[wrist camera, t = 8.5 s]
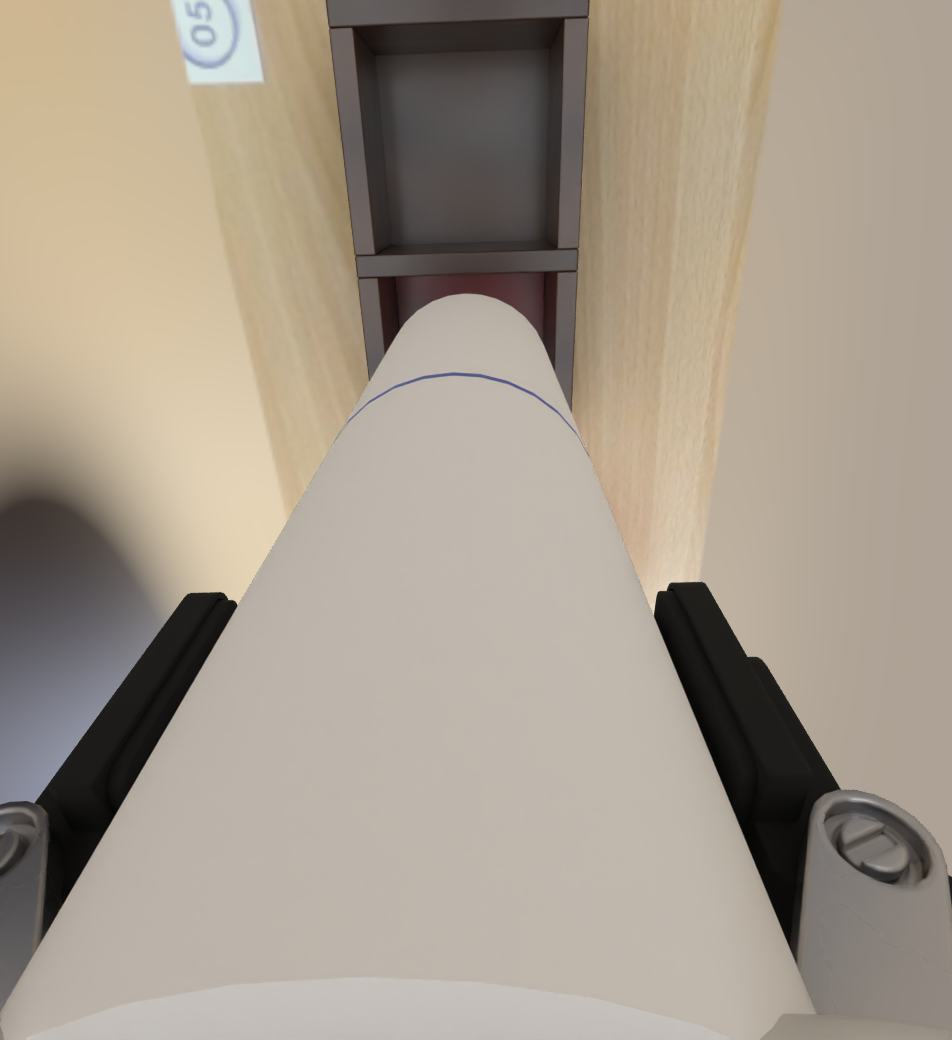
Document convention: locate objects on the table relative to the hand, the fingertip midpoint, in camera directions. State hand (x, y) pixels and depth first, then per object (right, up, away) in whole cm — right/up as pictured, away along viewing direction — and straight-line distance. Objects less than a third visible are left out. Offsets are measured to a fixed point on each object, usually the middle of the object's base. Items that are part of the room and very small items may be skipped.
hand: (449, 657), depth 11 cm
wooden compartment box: (0, +18, +24) cm, 30 cm away
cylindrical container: (0, +9, +16) cm, 18 cm away
